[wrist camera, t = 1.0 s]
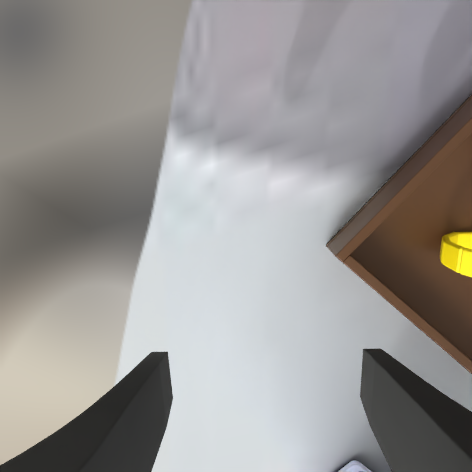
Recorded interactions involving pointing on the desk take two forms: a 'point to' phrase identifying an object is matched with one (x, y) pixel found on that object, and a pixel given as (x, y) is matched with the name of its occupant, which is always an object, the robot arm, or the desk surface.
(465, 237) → the watch
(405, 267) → the tray
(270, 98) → the desk surface
